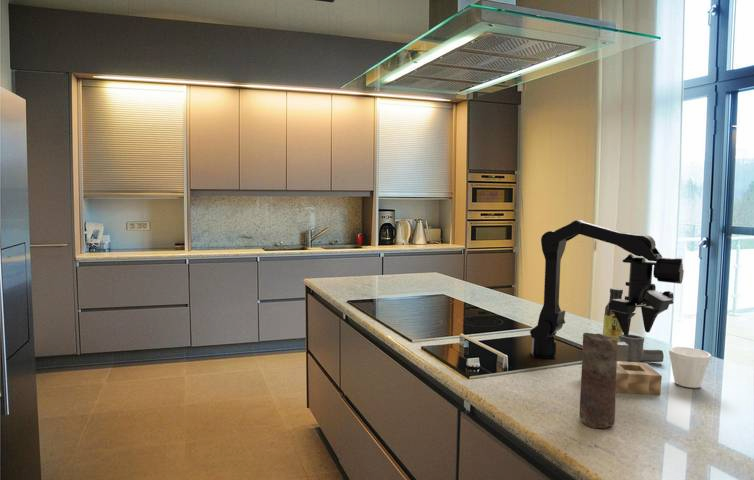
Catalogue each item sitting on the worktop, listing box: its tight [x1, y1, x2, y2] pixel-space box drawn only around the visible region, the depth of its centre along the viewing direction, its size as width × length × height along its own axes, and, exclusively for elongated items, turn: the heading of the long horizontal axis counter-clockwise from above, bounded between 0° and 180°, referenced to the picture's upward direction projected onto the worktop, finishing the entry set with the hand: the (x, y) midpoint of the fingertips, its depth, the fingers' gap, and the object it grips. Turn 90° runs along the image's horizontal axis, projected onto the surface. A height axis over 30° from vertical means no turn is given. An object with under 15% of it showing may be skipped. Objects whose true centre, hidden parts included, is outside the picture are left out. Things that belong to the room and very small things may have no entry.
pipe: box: [619, 334, 665, 363], centre depth 168 cm, size 6×13×8 cm, turn 78°
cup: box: [668, 346, 712, 389], centre depth 147 cm, size 10×10×9 cm
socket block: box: [616, 361, 663, 396], centre depth 145 cm, size 11×11×5 cm
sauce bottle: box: [602, 287, 624, 342], centre depth 185 cm, size 6×6×20 cm
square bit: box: [617, 342, 629, 362], centre depth 159 cm, size 4×4×8 cm
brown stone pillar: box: [579, 332, 618, 429], centre depth 120 cm, size 8×7×20 cm
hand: (636, 333), depth 154 cm, fingers open, 9 cm apart
